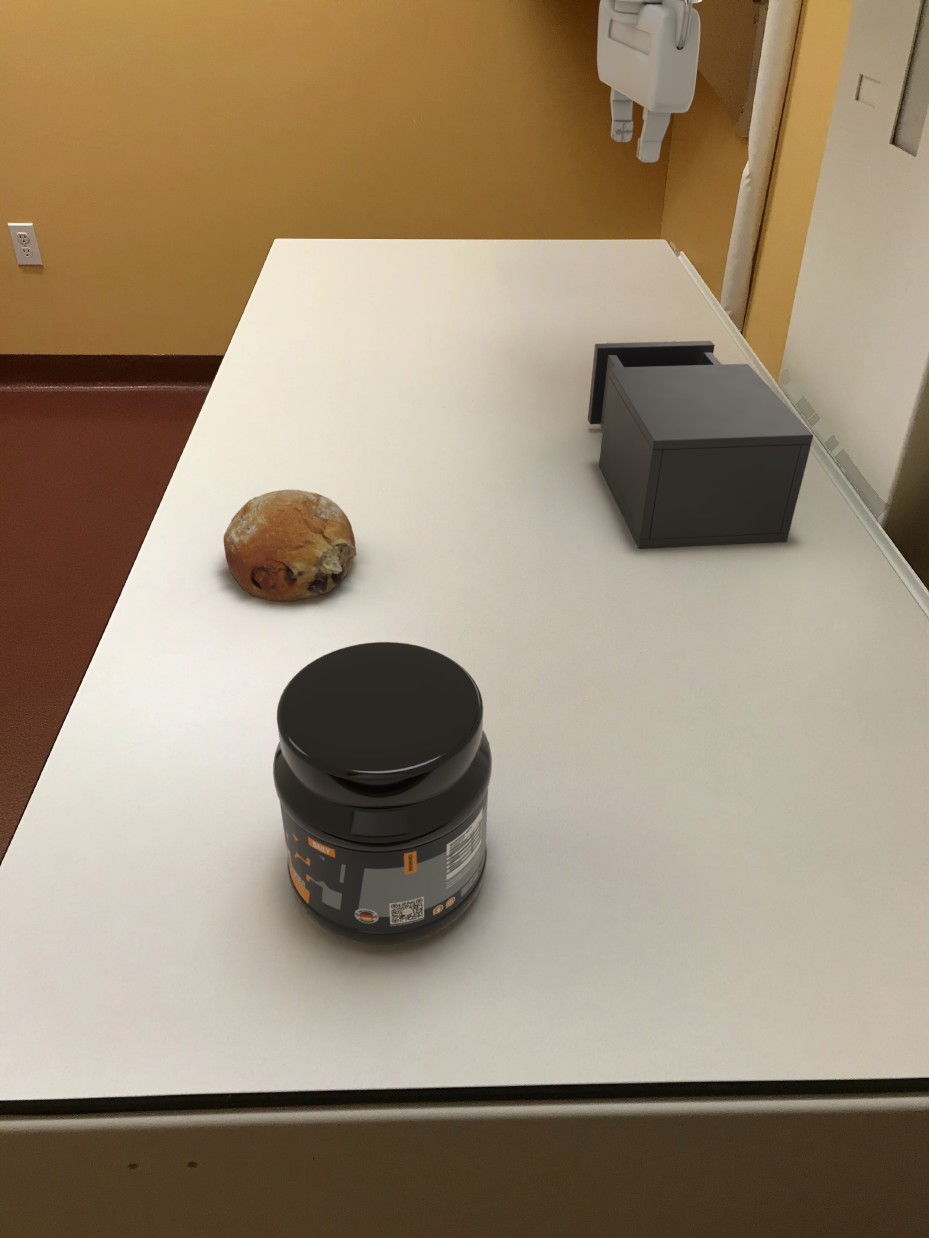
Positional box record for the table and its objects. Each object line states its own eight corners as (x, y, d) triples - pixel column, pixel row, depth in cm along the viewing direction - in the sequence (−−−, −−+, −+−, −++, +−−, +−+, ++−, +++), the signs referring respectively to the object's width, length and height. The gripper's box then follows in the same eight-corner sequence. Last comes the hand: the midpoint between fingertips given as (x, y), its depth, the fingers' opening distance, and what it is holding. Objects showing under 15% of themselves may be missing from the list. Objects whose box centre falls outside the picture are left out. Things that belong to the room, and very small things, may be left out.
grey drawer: (578, 402, 99) (585, 328, 94) (685, 399, 100) (697, 325, 96) (619, 484, 85) (629, 401, 80) (743, 479, 86) (761, 397, 81)
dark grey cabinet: (598, 465, 90) (609, 367, 84) (728, 460, 91) (748, 363, 85) (638, 548, 78) (653, 440, 72) (787, 541, 79) (814, 435, 74)
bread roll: (349, 574, 81) (335, 479, 79) (374, 591, 71) (358, 483, 69) (230, 594, 78) (213, 496, 76) (239, 614, 68) (219, 502, 67)
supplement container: (301, 798, 55) (281, 632, 48) (483, 797, 56) (489, 632, 49) (276, 957, 47) (246, 785, 40) (490, 956, 47) (499, 784, 40)
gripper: (730, -15, 75) (699, 174, 84) (656, -29, 92) (637, 131, 100) (652, -17, 75) (629, 174, 83) (592, -31, 91) (578, 130, 99)
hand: (633, 150), depth 92 cm, fingers open, 8 cm apart
